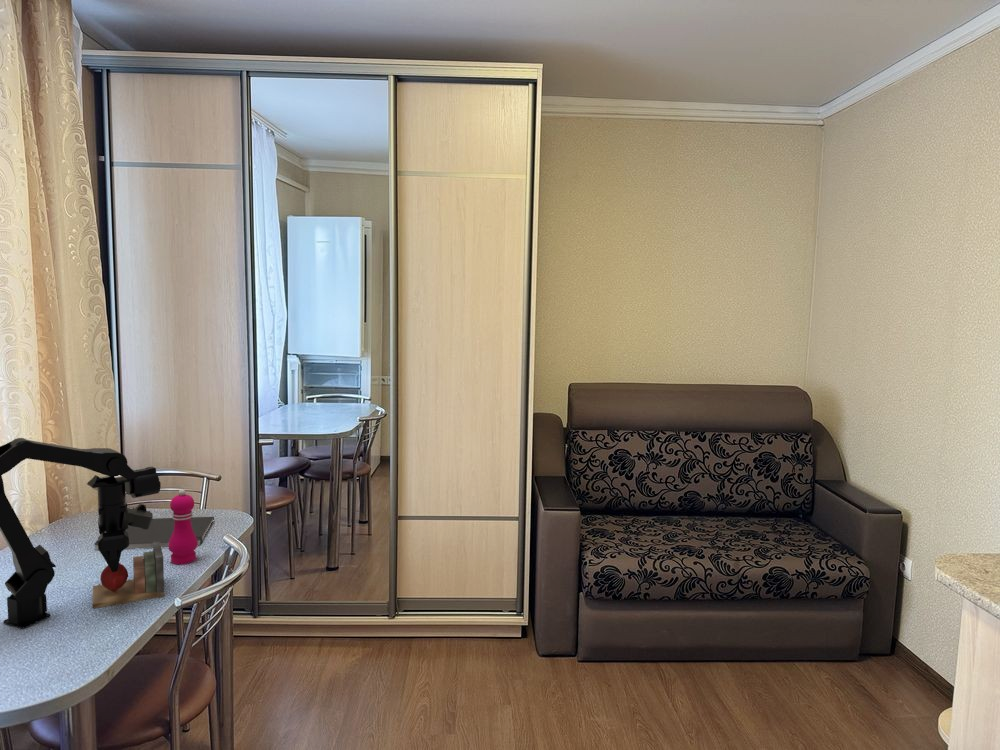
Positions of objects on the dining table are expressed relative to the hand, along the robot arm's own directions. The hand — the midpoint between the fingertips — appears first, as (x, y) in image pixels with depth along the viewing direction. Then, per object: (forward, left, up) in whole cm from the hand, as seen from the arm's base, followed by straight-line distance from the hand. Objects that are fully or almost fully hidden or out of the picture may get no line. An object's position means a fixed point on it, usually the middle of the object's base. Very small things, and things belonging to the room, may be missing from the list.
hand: (114, 564), depth 166 cm
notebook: (+34, +23, -8) cm, 42 cm away
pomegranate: (0, 0, -7) cm, 7 cm away
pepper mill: (+23, +2, -8) cm, 24 cm away
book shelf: (+2, -2, -8) cm, 8 cm away
